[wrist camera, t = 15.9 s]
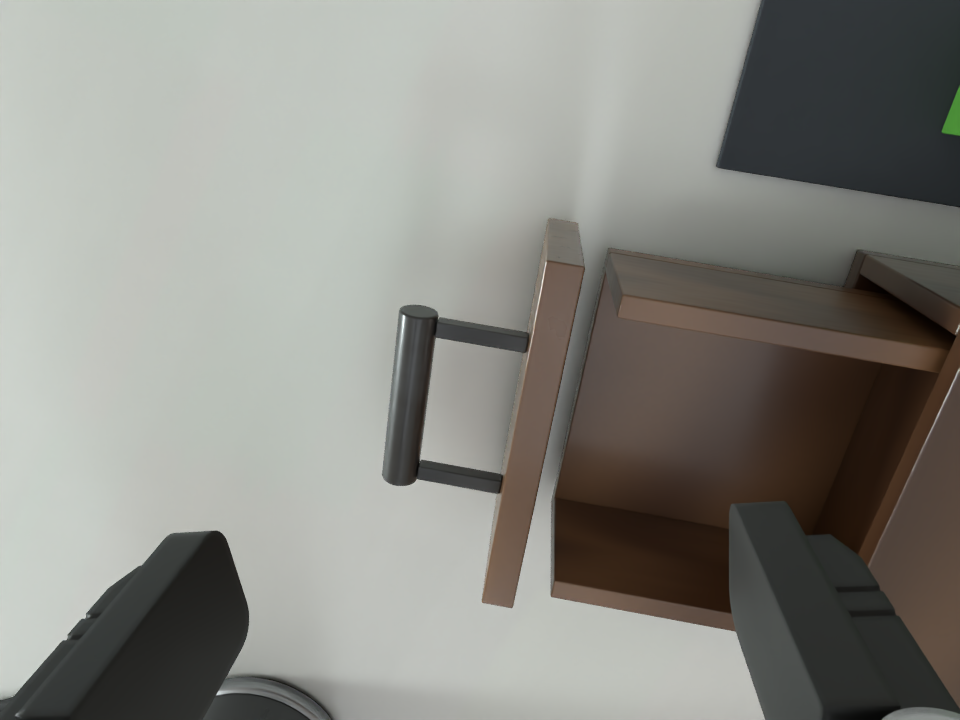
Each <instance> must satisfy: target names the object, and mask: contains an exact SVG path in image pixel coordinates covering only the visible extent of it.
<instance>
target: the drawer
mask: <svg viewBox="0 0 960 720" xmlns="http://www.w3.org/2000/svg"><path fill="white" fill-rule="evenodd" d="M584 270H585V266H584V259H583V253H582V246H581V240H580V233H579V227H578V223H576V222H570V221H564V220H558V219H552V218H548V221H547V227H546V232H545V237H544V243H543V248H542V254H541V259H540V264H539V270H538V275H537V281H536V286H535V291H534V297H533V302H532V308H531V313H530V318H529V324H528V329H527V332H522V331H516V330H510V329H504V328H498V327H493V326H487V325H481V324H475V323H470V322H464V321H458V320H452V319H447V318H441V317H440V318H439V319H438V312H437V311H436V310H434V309H432V308H430V307H426V306H422V305H406V306H403V307H401V308H400V310H399V318H398V327H397V337H396V346H395V356H394V365H393V375H392V384H391V394H390V404H389V413H388V423H387V432H386V442H385V451H384V461H383V470H382V476H383V478H384V480H385V481H386V482H388V483H390V484H392V485H396V486H407V485H410V484H412V483H414V482H415V481H416V480H417V479H419V480H425V481H430V482H436V483H441V484H447V485H452V486H458V487H463V488H469V489H474V490H480V491H485V492H491V493H496V494H497V497H496V503H495V510H494V517H493V524H492V531H491V538H490V545H489V552H488V559H487V567H486V574H485V581H484V588H483V595H482V602H483V603H487V604H492V605H497V606H503V607H508V608H512V607H513V604H514V600H515V595H516V590H517V585H518V581H519V576H520V571H521V567H522V562H523V557H524V553H525V548H526V543H527V538H528V534H529V529H530V524H531V520H532V515H533V510H534V506H535V501H536V496H537V491H538V487H539V482H540V477H541V473H542V468H543V463H544V459H545V454H546V449H547V444H548V440H549V435H550V430H551V426H552V421H553V416H554V411H555V407H556V402H557V397H558V393H559V388H560V383H561V379H562V374H563V369H564V364H565V360H566V355H567V350H568V346H569V341H570V336H571V332H572V327H573V322H574V317H575V313H576V308H577V303H578V299H579V294H580V289H581V284H582V280H583V275H584ZM436 338H442V339H448V340H453V341H459V342H465V343H471V344H476V345H482V346H488V347H494V348H499V349H505V350H511V351H516V352H522V353H523V356H522V362H521V367H520V372H519V378H518V383H517V389H516V394H515V399H514V405H513V410H512V416H511V421H510V426H509V432H508V437H507V443H506V448H505V453H504V459H503V464H502V470H501V474H498V473H492V472H487V471H481V470H476V469H470V468H465V467H459V466H454V465H448V464H443V463H437V462H432V461H426V460H421V461H420V455H421V447H422V439H423V432H424V424H425V416H426V408H427V401H428V393H429V385H430V377H431V370H432V362H433V354H434V346H435V339H436ZM955 338H956V336H955V335H954V334H952V333H951V332H949V331H948V330H946V329H945V328H943V327H941V326H940V325H938V324H937V323H935V322H934V321H932V320H931V319H929V318H928V317H926V316H924V315H923V314H921V313H920V312H918V311H917V310H915V309H914V308H912V307H910V306H909V305H907V304H906V303H904V302H903V301H901V300H900V299H898V298H896V297H895V296H893V295H888V294H882V293H876V292H870V291H864V290H858V289H852V288H846V287H840V286H834V285H828V284H822V283H816V282H810V281H804V280H798V279H792V278H786V277H780V276H774V275H768V274H763V273H757V272H751V271H745V270H739V269H733V268H727V267H721V266H715V265H709V264H703V263H697V262H691V261H685V260H679V259H673V258H667V257H661V256H655V255H649V254H643V253H637V252H631V251H625V250H619V249H613V248H608V250H607V255H606V259H605V264H604V268H603V273H602V277H601V282H600V286H599V291H598V295H597V300H596V304H595V309H594V313H593V318H592V322H591V326H590V331H589V335H588V340H587V344H586V349H585V353H584V358H583V362H582V367H581V371H580V376H579V380H578V385H577V389H576V394H575V398H574V403H573V407H572V411H571V416H570V420H569V425H568V429H567V434H566V438H565V443H564V447H563V452H562V456H561V461H560V465H559V470H558V474H557V479H556V483H555V487H554V492H553V496H552V501H551V510H552V511H551V597H555V598H560V599H565V600H571V601H576V602H581V603H587V604H592V605H597V606H603V607H608V608H613V609H619V610H624V611H629V612H635V613H640V614H645V615H651V616H656V617H661V618H667V619H672V620H677V621H683V622H688V623H693V624H699V625H704V626H709V627H715V628H720V629H725V630H731V631H736V630H735V626H734V621H733V617H732V611H731V604H730V595H729V510H730V506H731V504H735V503H753V502H771V501H785V502H787V504H788V505H789V506H790V508H791V510H792V512H793V514H794V515H795V517H796V519H797V521H798V522H799V524H800V526H801V528H802V530H803V531H804V533H805V535H824V534H831V535H832V536H833V537H835V538H836V539H837V540H839V541H840V542H841V543H843V544H844V545H845V546H847V547H848V548H849V549H851V550H852V551H854V552H855V553H856V554H858V553H859V551H860V549H861V547H862V544H863V542H864V540H865V538H866V535H867V533H868V531H869V529H870V527H871V524H872V522H873V520H874V518H875V516H876V513H877V511H878V509H879V507H880V504H881V502H882V500H883V498H884V496H885V493H886V491H887V489H888V487H889V485H890V482H891V480H892V478H893V476H894V473H895V471H896V469H897V467H898V465H899V462H900V460H901V458H902V456H903V454H904V451H905V449H906V447H907V445H908V442H909V440H910V438H911V436H912V434H913V431H914V429H915V427H916V425H917V423H918V420H919V418H920V416H921V414H922V411H923V409H924V407H925V405H926V403H927V400H928V398H929V396H930V394H931V392H932V389H933V387H934V385H935V383H936V380H937V378H938V376H939V374H940V372H941V369H942V367H943V365H944V363H945V361H946V358H947V356H948V354H949V352H950V350H951V347H952V345H953V343H954V341H955ZM419 462H420V463H419Z"/></svg>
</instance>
